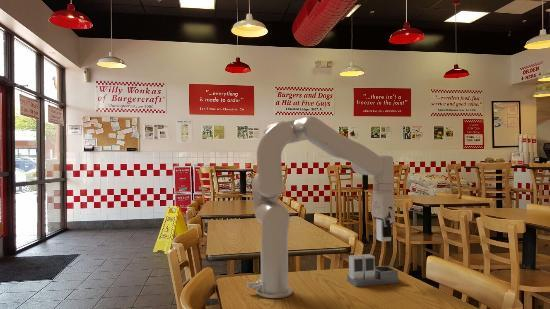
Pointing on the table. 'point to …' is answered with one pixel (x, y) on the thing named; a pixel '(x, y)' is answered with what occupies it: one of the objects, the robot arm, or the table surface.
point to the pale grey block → (380, 230)
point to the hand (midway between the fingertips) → (383, 235)
